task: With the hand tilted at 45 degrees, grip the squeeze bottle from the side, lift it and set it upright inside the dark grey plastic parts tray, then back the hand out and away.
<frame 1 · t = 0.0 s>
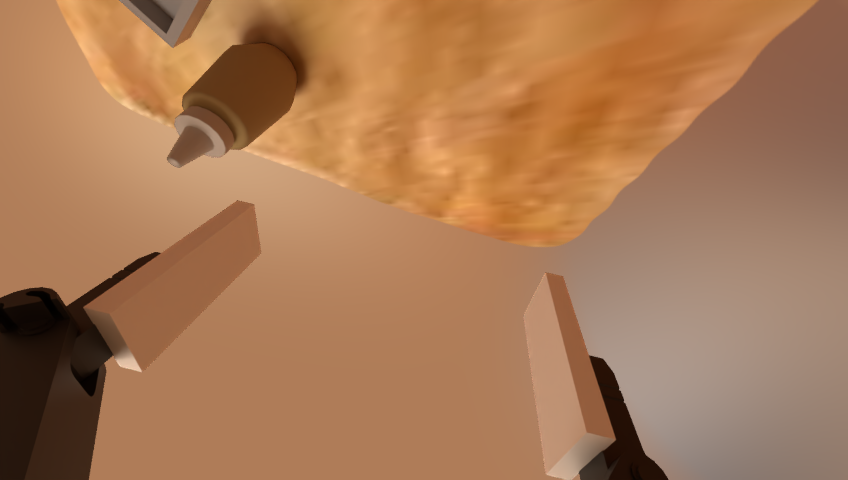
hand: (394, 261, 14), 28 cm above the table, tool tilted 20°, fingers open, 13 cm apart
squeeze bottle: (274, 67, 39), on the table
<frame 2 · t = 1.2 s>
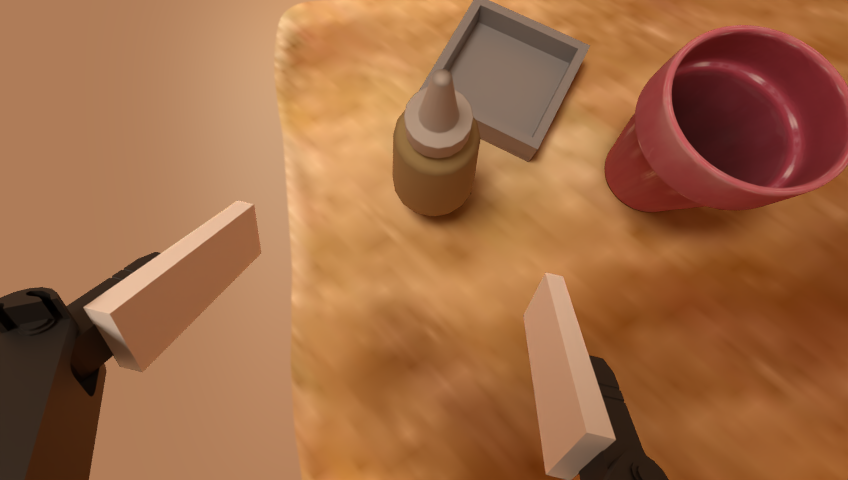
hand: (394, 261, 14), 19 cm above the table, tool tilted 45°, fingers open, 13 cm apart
squeeze bottle: (432, 190, 35), on the table
plant pot: (643, 173, 36), on the table
parts tray: (499, 86, 38), on the table
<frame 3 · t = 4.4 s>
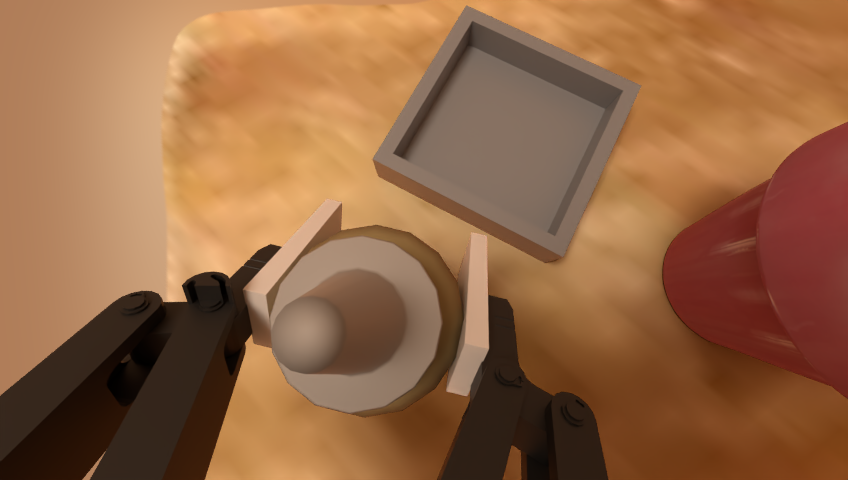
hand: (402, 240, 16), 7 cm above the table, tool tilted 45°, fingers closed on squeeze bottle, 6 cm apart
squeeze bottle: (395, 308, 23), on the table, touching gripper
plant pot: (720, 280, 23), on the table
parts tray: (500, 142, 25), on the table
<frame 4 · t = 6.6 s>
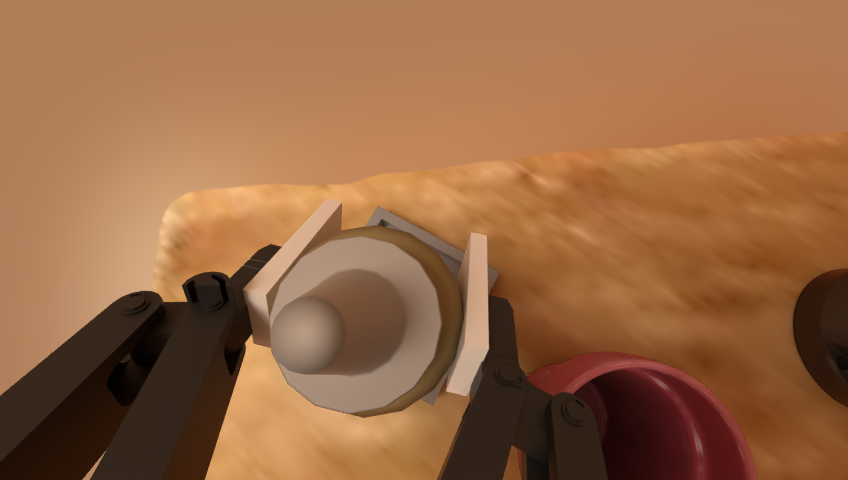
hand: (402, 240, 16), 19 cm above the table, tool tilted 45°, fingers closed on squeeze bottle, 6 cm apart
squeeze bottle: (395, 308, 23), point 11 cm above the table, touching gripper
plant pot: (558, 409, 32), on the table
parts tray: (404, 300, 34), on the table
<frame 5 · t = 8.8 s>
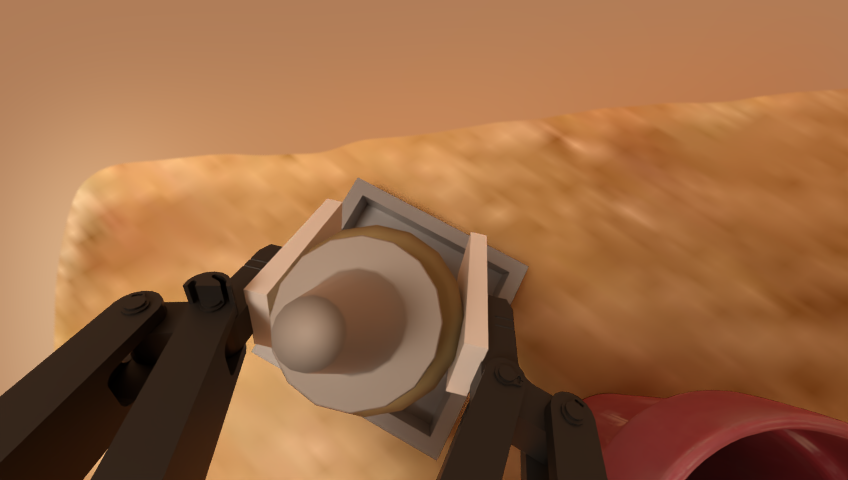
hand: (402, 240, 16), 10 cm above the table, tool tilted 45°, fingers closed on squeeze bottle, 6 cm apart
squeeze bottle: (395, 308, 23), point 2 cm above the table, touching gripper
plant pot: (611, 456, 23), on the table
parts tray: (397, 307, 25), on the table
when the fingers open (10 cm above the table, at t = 8.8 s): squeeze bottle drops 2 cm, resting on parts tray.
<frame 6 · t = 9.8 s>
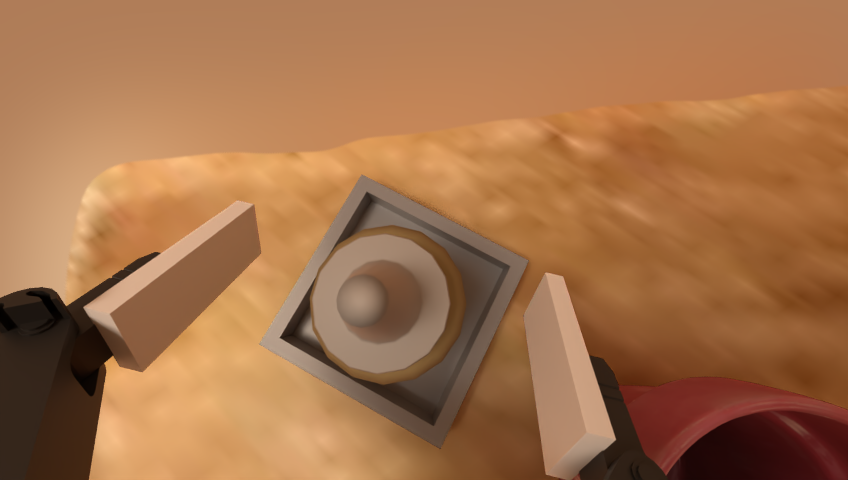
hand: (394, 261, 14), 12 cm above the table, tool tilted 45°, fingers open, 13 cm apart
squeeze bottle: (401, 301, 25), point 1 cm above the table, touching parts tray
plant pot: (610, 446, 24), on the table
parts tray: (400, 301, 26), on the table
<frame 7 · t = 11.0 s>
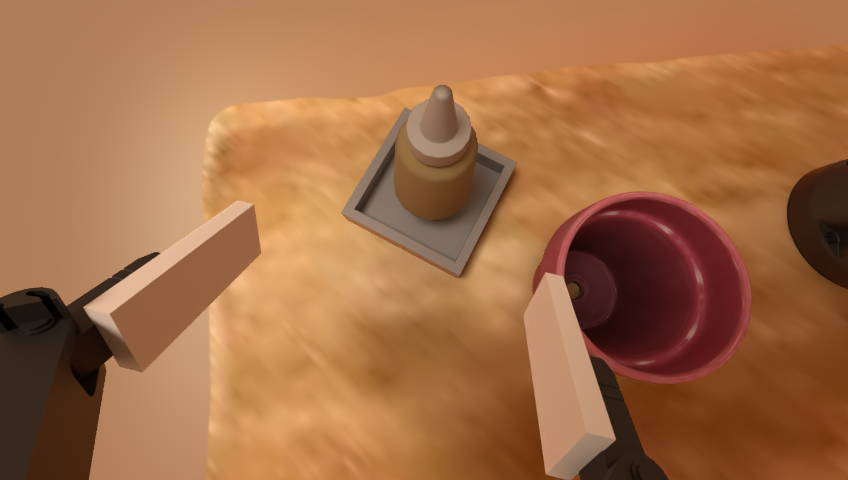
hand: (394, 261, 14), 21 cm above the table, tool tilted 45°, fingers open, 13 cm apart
squeeze bottle: (431, 194, 37), point 1 cm above the table, touching parts tray
plant pot: (571, 288, 36), on the table
parts tray: (429, 196, 37), on the table
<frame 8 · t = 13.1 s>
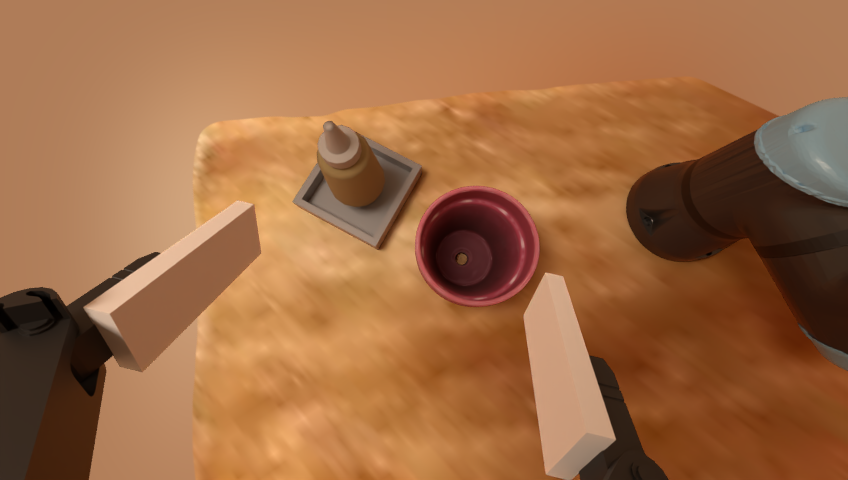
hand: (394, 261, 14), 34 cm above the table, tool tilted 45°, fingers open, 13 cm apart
squeeze bottle: (361, 189, 50), point 1 cm above the table, touching parts tray
plant pot: (462, 258, 49), on the table
parts tray: (361, 190, 50), on the table
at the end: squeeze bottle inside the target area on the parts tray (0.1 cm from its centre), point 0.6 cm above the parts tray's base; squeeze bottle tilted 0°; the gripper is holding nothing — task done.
